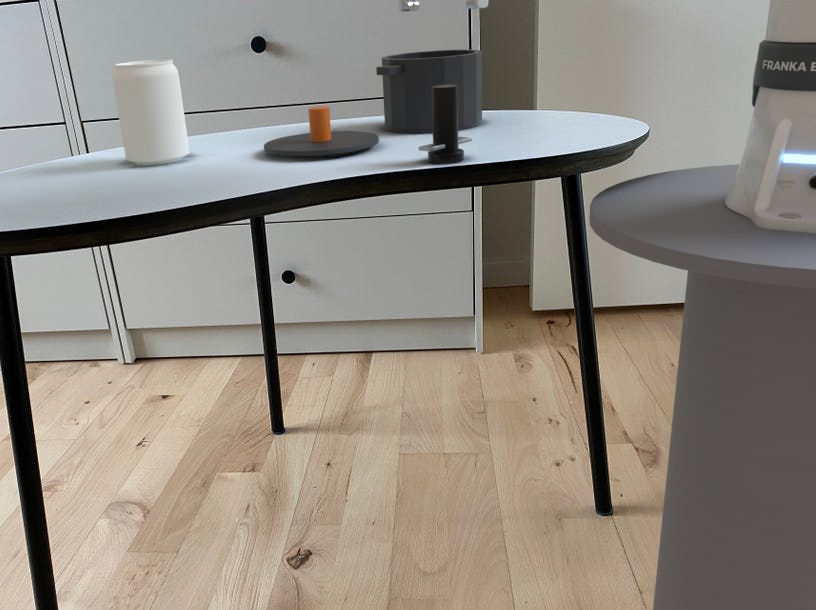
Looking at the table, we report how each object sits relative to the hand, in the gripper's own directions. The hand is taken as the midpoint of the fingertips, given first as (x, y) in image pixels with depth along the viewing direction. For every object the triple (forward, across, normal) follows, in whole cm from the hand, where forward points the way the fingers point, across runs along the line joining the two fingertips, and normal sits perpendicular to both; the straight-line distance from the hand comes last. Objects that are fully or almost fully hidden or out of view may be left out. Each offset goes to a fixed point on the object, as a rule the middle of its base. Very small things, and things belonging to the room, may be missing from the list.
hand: (442, 9), depth 87 cm
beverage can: (+16, +34, +17) cm, 41 cm away
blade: (+16, 0, 0) cm, 16 cm away
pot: (+16, +19, -19) cm, 31 cm away
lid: (+15, +19, +2) cm, 24 cm away
